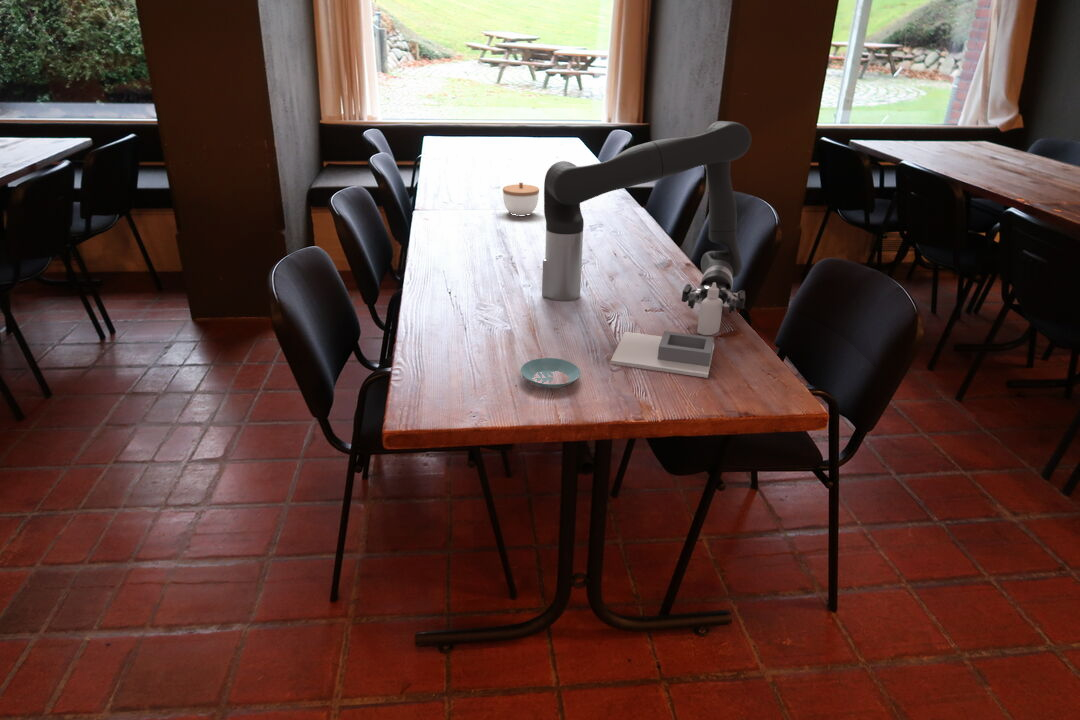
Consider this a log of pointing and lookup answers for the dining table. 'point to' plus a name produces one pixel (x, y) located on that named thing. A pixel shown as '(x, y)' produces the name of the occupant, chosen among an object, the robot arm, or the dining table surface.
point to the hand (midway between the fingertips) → (711, 307)
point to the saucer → (549, 371)
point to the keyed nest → (666, 353)
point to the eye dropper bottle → (710, 312)
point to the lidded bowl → (520, 198)
